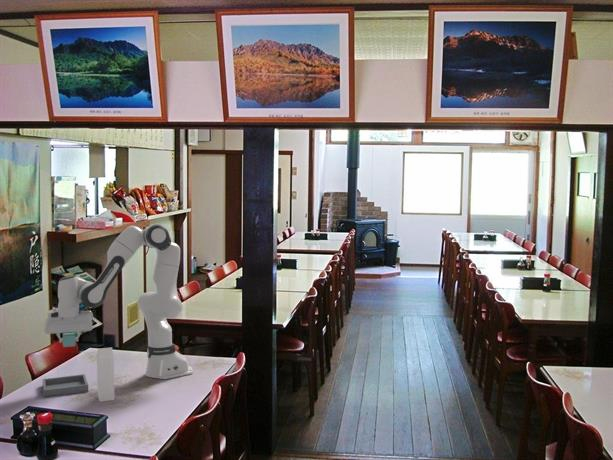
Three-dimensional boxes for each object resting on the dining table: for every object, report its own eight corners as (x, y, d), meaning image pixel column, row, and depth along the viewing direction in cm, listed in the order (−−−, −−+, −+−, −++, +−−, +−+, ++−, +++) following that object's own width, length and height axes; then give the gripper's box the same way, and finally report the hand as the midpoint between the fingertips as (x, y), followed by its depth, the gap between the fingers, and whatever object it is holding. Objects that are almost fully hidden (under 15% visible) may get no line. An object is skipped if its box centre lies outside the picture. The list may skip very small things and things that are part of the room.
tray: (84, 380, 284) (84, 374, 284) (88, 391, 270) (88, 384, 270) (42, 385, 277) (42, 379, 277) (43, 397, 262) (43, 390, 262)
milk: (97, 397, 263) (96, 347, 261) (112, 395, 266) (111, 345, 264) (99, 402, 258) (98, 350, 256) (114, 399, 260) (113, 348, 258)
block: (74, 343, 281) (74, 332, 280) (75, 346, 276) (75, 335, 276) (62, 344, 279) (62, 333, 278) (63, 347, 274) (63, 336, 274)
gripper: (92, 308, 283) (92, 338, 284) (44, 311, 275) (44, 342, 276) (93, 311, 278) (93, 341, 279) (44, 314, 269) (44, 345, 270)
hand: (68, 341), depth 277 cm, fingers closed on block, 5 cm apart
